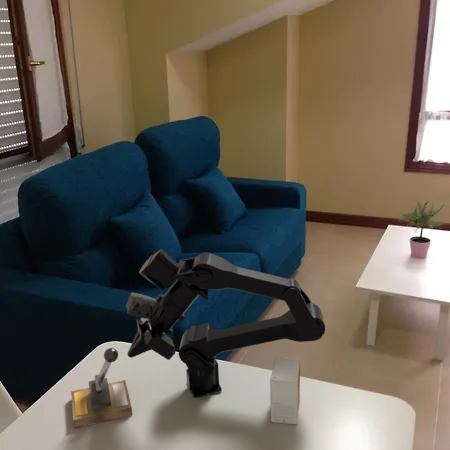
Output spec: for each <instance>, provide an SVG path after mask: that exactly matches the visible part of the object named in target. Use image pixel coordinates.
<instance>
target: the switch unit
mask: <svg viewBox="0 0 450 450" xmlns="http://www.w3.org/2000/svg"><path fill="white" fill-rule="evenodd" d="M101 385H102V392H101V393H97V391H96V384H95V379H93V380H89V381H88V387H86V388H81V389H77V390H73V391H70V392H71V394H70V395H71V406H72V407H71V408H72V409H71V410H72V421H73V427H74V429H77V428H82V427H86V426H91V425H94V424H95V425H96V424H98V423H104V422H107V421H112V420H116V419H120V418H121V419H122V418H125V417H129V416H133V408H132V404H131V403H132V402H131V399H130V394H129V391H128V390H129V389H128V385H127V382H126V379H123V380H119V381H114V382H110V383H109V382H108V377H105V378H104V380H103V383H102V384H101Z"/></svg>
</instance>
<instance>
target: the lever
mask: <svg viewBox="0 0 450 450" xmlns="http://www.w3.org/2000/svg"><path fill="white" fill-rule="evenodd" d="M103 358H104V362H103V364H102V367H101V368H100V371H99V374H96V375H94V380H95V384H96V391H97V393H101V392H102V385H101V384H102V383H103V380H104V378H106V375H107V373H108V371H109V369H110V367H111V364H112V363H115V362H116V360H118V358H119V352H118V350H117V349H116V348H114V347H109V348H107V349H106V350H105V351H104V353H103Z"/></svg>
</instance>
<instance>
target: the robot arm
mask: <svg viewBox="0 0 450 450" xmlns="http://www.w3.org/2000/svg"><path fill="white" fill-rule="evenodd" d="M189 270H190V271H189ZM138 273H139V274H140V275H141V276H142V277H143V278H144V279H146V280H147V281H149V282H150V283H152V284H153V286H155V287H156V288H158V289H159V290H162V291H163V290H165V289H168V290H167V291H166V292H165V293H164V294H163V293H160V294H157V296H156V297H155V298H154V297H150V296H149V295H145V294H141V293H136V292H130V295H129V297H128V300H127V302H126V305H125V308H126V312H127V314H128V315H129V316H131V317H137V318H136V322H137V331H136V334H135V336H134V339H133V340H132V343H131V345H130V347H129V349H128V351H127V357H129V358H134V357H136V356H137V357H138V356H139V355H141V354H144V353H146V352H149V351H153V352H155V353H156V354H158V355H160V356H161V357H162V358H164V359H166V360H168V361H169V360H171V358H173V356H175V354H176V348H175V344H174V341H173V339H172V338H170V337H169V336H171V335H172V333H174V332H173V329H172V328H173V327H174V325H175V324H176V323H177V322H178V321H182V322H183V321H184V319H185V318H186V317H185V312H186V311H187V310H188V309H189V308H190V307H191V305H193V303H194V302H195V301H196V300H197V298H199V296H200V297H201V298H202V299H204V300H205V301H209V300H210V298H209V290H213V291H214V290H215V291H220V290H224V289H233V290H237V291H242V292H247V293H251V294H254V295H258V296H263V297H265V298H266V297H267V298H271V299H275V300H278V301H279V300H280V301H284V302H285V303H286V305H287V307H288V308H289V310H288V311H286V312H285V313H283V314H282V315H281V316H278V317H277V316H276V317H272V318H268V319H263V320H259V321H254V322H249V323H246V324H241V325H236V326H230V327H226V328H222V329H214V328H210V323H208V322H205V323H202V324H198V325H191V326H190V328H188V329H185V331H184V332H183V334H182V337H181V341H180V346H179V349H178V358H179V359H180V361H181V362H182V363H183V364H185V366H186V370H185V372H186V384H187V387H188V389H189V392H191V394H192V395H193V398H199V397H203V396H207V395H212V394H215V393H221V392H222V389H223V388H222V386H221V385H220V375H219V374H220V372H219V363H218V361H217V359H216V357H217V356H218V355H219V354H221V353H224V352H230V351H235V350H239V349H243V348H247V347H248V348H249V347H252V346H257V345H261V344H267V343H271V342H276V341H280V340H288V341H293V342H298V343H305V342H307V343H308V342H316V341H318V340H320V339H322V338H323V336H324V334H325V333H326V323H325V320H324V314H323V312H322V309H321V307H319V305H318V304H315V303H314V302H312V300H311V299H310V298H309V296H308V294H307V293H306V292H305V290H304V289H303V288H302V287H301V284H300V283H299V281H298V280H297V279H294V278H291V277H290V278H287V277H281V276H277V275H273V274H270V273H265V272H261V271H257V270H252V269H247V268H245V267H241V266H236V265H234V264H232V263H231V262H229V261H228V260H226V259H225V258H224V257H221V256H218V255H216V254H213V253H211V252H201V253H200V254H198V255H197V256H196V257H190V258H185V259H179V263H178V262H177V261H176V260H174V258H172V257H171V256H169V254H168V253H167V252H166V251H164V250H163V249H162V248H160V249H159V250H158V251H157V252H155V253H154V254H151V256H150V257H148V259H146V261H145V262H144V263H143V264H142V267H141V268H140V269H139V271H138ZM175 280H176V281H175ZM165 333H166V334H167V335H166V334H165Z"/></svg>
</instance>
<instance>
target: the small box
mask: <svg viewBox="0 0 450 450" xmlns="http://www.w3.org/2000/svg"><path fill="white" fill-rule="evenodd" d="M272 366H273V367H272V373H271V376H270V379H269V386H270V387H269V388H270V389H269V390H270V391H269V393H270V394H269V395H270V401H269V402H270V422H271V423H277V424H288V425H298V423H299V421H298V420H299V411H300V402H301V360H300V359H291V358H282V357H274V359H273V365H272Z"/></svg>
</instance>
